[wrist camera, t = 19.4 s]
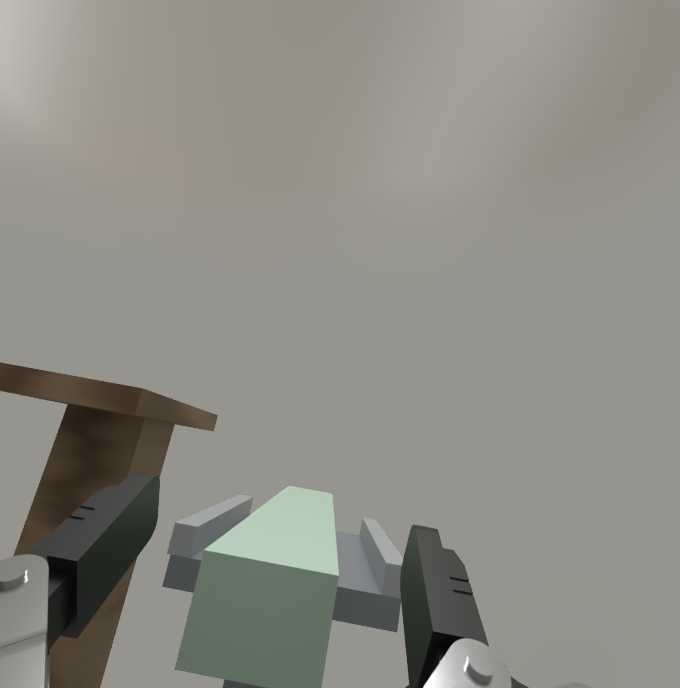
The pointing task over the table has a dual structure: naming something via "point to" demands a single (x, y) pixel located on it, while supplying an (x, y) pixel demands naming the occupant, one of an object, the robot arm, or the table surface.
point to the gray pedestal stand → (353, 563)
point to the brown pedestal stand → (94, 482)
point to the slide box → (267, 596)
